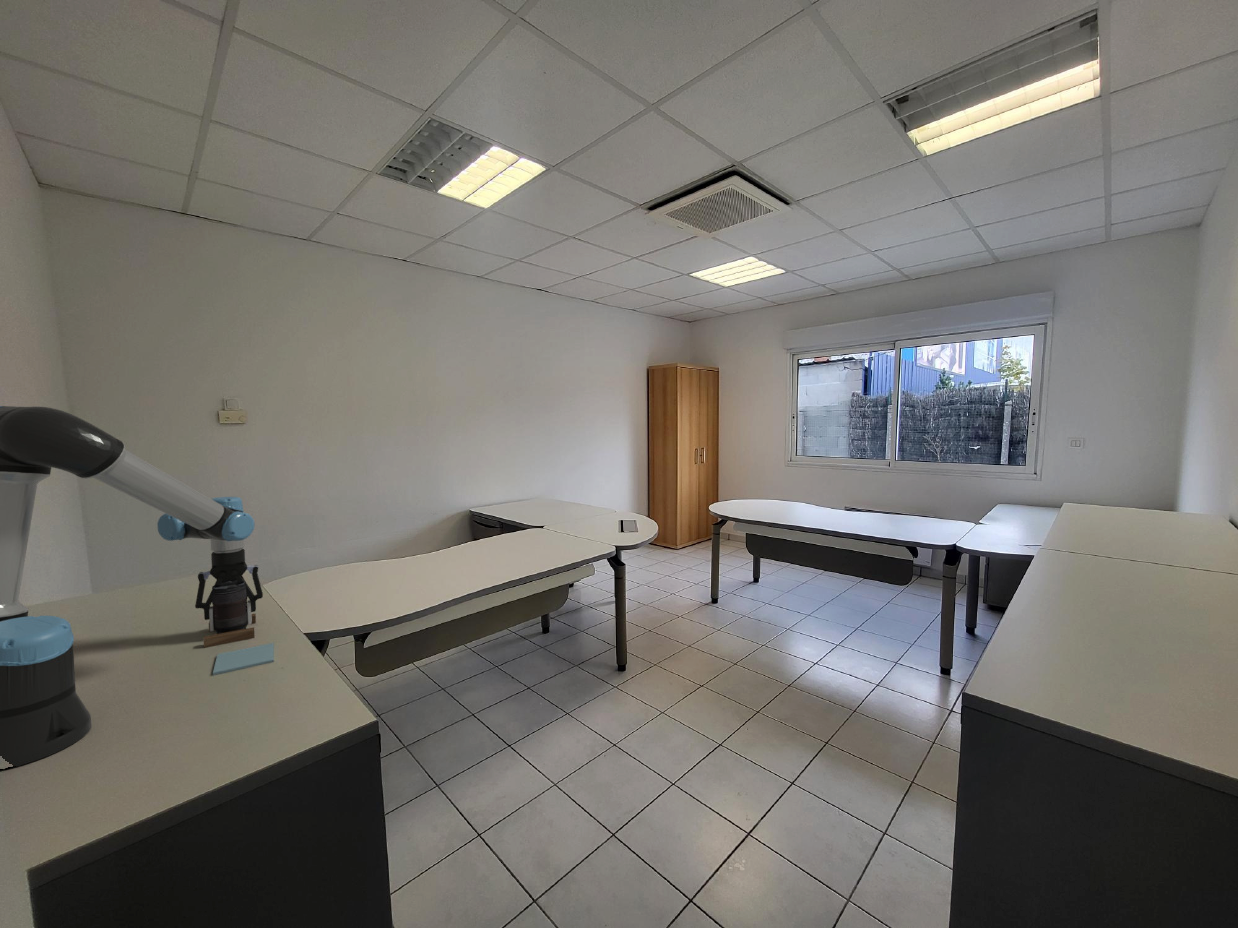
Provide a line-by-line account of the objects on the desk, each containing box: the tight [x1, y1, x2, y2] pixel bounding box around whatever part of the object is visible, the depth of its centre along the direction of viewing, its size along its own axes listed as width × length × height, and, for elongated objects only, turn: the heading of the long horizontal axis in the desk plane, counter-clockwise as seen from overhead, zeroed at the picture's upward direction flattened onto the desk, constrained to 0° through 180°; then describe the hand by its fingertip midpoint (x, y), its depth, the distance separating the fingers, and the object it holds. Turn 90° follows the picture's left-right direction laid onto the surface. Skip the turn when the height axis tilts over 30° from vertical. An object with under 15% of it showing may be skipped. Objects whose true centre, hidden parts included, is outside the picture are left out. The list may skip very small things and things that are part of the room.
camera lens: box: [210, 580, 248, 634], centre depth 139 cm, size 8×8×15 cm
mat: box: [212, 642, 275, 676], centre depth 124 cm, size 12×12×1 cm
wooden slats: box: [203, 612, 257, 649], centre depth 139 cm, size 15×11×4 cm
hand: (231, 625), depth 139 cm, fingers closed on camera lens, 8 cm apart
